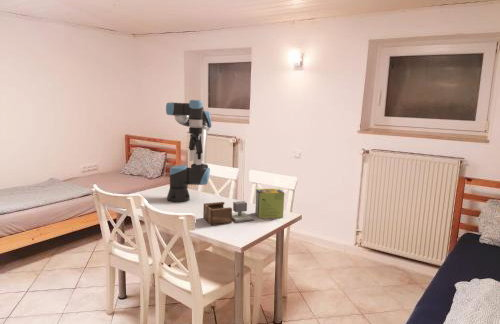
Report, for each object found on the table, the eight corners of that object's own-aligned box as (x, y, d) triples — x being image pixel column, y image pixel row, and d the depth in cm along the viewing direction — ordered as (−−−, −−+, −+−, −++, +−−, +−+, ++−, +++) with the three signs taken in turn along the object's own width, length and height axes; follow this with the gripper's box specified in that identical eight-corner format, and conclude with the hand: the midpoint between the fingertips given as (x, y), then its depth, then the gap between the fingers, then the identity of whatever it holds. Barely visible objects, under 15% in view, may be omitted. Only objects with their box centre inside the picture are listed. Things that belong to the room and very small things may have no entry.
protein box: (283, 217, 211) (284, 192, 208) (258, 218, 208) (259, 192, 206) (279, 212, 221) (280, 188, 219) (255, 212, 219) (256, 188, 216)
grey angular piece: (228, 215, 210) (228, 200, 209) (243, 213, 215) (243, 199, 213) (235, 221, 200) (236, 205, 199) (251, 219, 205) (252, 204, 203)
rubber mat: (225, 215, 212) (225, 214, 212) (243, 213, 217) (243, 212, 217) (235, 223, 198) (235, 222, 198) (254, 220, 203) (254, 220, 203)
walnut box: (203, 217, 205) (203, 203, 204) (222, 215, 210) (223, 201, 209) (211, 225, 193) (211, 210, 191) (231, 223, 198) (232, 208, 196)
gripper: (183, 125, 215) (183, 159, 219) (195, 128, 193) (195, 166, 196) (195, 125, 218) (195, 159, 222) (208, 128, 196) (208, 166, 200)
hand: (195, 162), depth 209 cm, fingers open, 13 cm apart
